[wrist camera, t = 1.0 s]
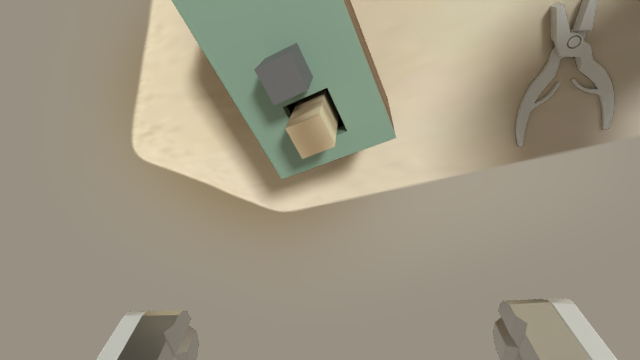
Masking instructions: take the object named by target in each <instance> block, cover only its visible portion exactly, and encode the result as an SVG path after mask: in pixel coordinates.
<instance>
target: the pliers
mask: <svg viewBox="0 0 640 360" xmlns="http://www.w3.org/2000/svg"><path fill="white" fill-rule="evenodd" d="M596 6H597V0H582V2H581V5H580V8H579V11H578V14H577V17H576V20H575V23H574V26H573V28H572V30H571V31H570V28H569V24H568V19H567V15H566V11H565V7H564V4H562V3H555V4H554V5H552V6H550V9H551V39H552V40H553V41H554V45H555V47H554V48H553V49H552V50H551V53H550V56H549V60H548V62H547V63H546V65H545V67H544V68H543V70H542V71H541V73H540V74H539V75H538V76H537V77H536V78H535V79H534V80H533V81H532V83H531V84H530V86H529V87H528V89H527V91H526V92H525V94H524V96H523V99H522V101H521V104H520V106H519V109H518V113H517V117H516V124H515V134H516V141H517V145H518V147H521V146H523V142H524V135H525V130H526V125H527V122H528V118H529V116H530V113H531V111H532V110H533V109H534V108H536V107H537V106H539V105H541V104H542V103H544V102H545V101H546V100H548V99H549V98H550V97H551V96H552V95H553V94H554V92H555V91H556V90H557V88H558V87H559V85H560V84H561V83H560V82H557V83H556V84H555V85H554V87H553V88H552V89H551V91H550V92H549V93H548V94H547V95H546V96H544V97H543V98H542V99H540V100H538V101H536V99H537V98H538V96H539V95H540V93H541V92H542V91H543V90H544V88H545V87H546V86H547V85H548V84H549V83H550V82H551V80H552V79H553V78H554V77H555V75H556V72H557V69H558V67H559V64H560V61H561V59H562V58H564V57H576V58H575V61H576V65H577V69H578V70H579V71H580V72H581V73H583V74H584V75H585V76H587V77H588V78H589V79H590V80H591V81H592V82H593V83H594V85H595V87H596V88H585V87H582V86H581V85H580V84H578V82H577V81H576V80H575V79H574V78H572V79H570V80H571V81H572V82H573V84H574V85H575V86H576V87H578V88H579V89H580V90H582V91H585V92H587V93H593V94H597V95H599V99H600V103H601V109H602V129H604V130H605V129H609V126H610V124H611V121H612V117H613V113H614V105H615V96H614V90H613V86H612V82H611V80H610V77H609V75H608V73H607V72H606V71H605V69H604V68H603V67H602V66H601V65H599V64H598V63H597V62H595V61H594V60H593V55H592V49H591V45H590V44H588V43H586V42H584V40H585V37H586V34H587V32H588V31H590V30H593V24H594V18H595V12H596ZM535 101H536V102H535Z"/></svg>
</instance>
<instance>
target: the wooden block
mask: <svg viewBox="0 0 640 360" xmlns="http://www.w3.org/2000/svg"><path fill="white" fill-rule="evenodd" d="M338 117H339V112H338V110H337V108H336V106H335V104H334V101H333V99H332V97H331V95H330V93H329V91H328V88H325V89H323V90H321V91H318V92H316V93H314V94H312V95H309V96H307V97H305V98H302V99H300V100H298V101H297V103H296V105H295V108H294V110H293V112H292V115H291V117H290V119H289V122H288V124H287V126H286V131H287V133H288V134H289V136H290V138H291V140H292V141H293V143H294V145H295V147H296V149H297V150H298V152H299V154H300V156H301V158H302V159H304V158H307V157H309V156H312V155H314V154H317V153H320V152H322V151H325V150H328V149H330V148H333V147H335V142H336V134H337V125H338Z"/></svg>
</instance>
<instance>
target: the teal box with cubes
mask: <svg viewBox="0 0 640 360" xmlns="http://www.w3.org/2000/svg"><path fill="white" fill-rule="evenodd" d="M172 2H173V3H174V5H175V7H176V8H177V10H178V12H179V13H180V15H181V16H182V18H183V20H184V21H185V23H186V25H187V26H188V28H189V29H190V31H191V33H192V34H193V36H194V38H195V39H196V41H197V42H198V44H199V46H200V47H201V49H202V51H203V52H204V54H205V55H206V57H207V59H208V60H209V62H210V64H211V65H212V67H213V69H214V70H215V72H216V73H217V75H218V77H219V78H220V80H221V82H222V83H223V85H224V86H225V88H226V90H227V91H228V93H229V95H230V96H231V98H232V99H233V101H234V103H235V104H236V106H237V108H238V109H239V111H240V112H241V114H242V116H243V117H244V119H245V121H246V122H247V124H248V125H249V127H250V129H251V130H252V132H253V134H254V135H255V137H256V138H257V140H258V142H259V143H260V145H261V147H262V148H263V150H264V151H265V153H266V155H267V156H268V158H269V160H270V161H271V163H272V165H273V166H274V168H275V169H276V171H277V173H278V174H279V176H280V178H281V179H284V178H287V177H290V176H292V175H295V174H298V173H301V172H303V171H306V170H309V169H312V168H314V167H317V166H320V165H323V164H325V163H328V162H331V161H334V160H336V159H339V158H342V157H344V156H347V155H350V154H353V153H355V152H358V151H361V150H364V149H366V148H369V147H372V146H375V145H377V144H380V143H383V142H386V141H388V140H391V139H394V138H396V136H395V132H394V129H393V126H392V124H391V121H390V119H389V116H388V114H387V111H386V108H385V106H384V103H383V101H382V98H381V95H380V93H379V90H378V88H377V85H376V83H375V80H374V77H373V75H372V72H371V70H370V67H369V65H368V62H367V59H366V57H365V54H364V52H363V49H362V46H361V44H360V41H359V39H358V36H357V34H356V31H355V28H354V26H353V23H352V21H351V18H350V15H349V13H348V10H347V8H346V5H345V3H344V0H172ZM325 88H328V91H329V93H330V95H331V97H332V99H333V101H334V104H335V106H336V108H337V110H338V112H339V114H340V116H341V119H342V121H343V123H344V126H341V127H339V128H337V134H336V142H335V147H333V148H330V149H328V150H325V151H322V152H320V153H317V154H314V155H312V156H309V157H307V158H304V159H302V158H301V156H300V154H299V152H298V150H297V149H296V147H295V145H294V143H293V141H292V140H291V138H290V136H289V134H288V133H287V131H286V126H287V124H288V122H289V119H290V117H291V113H290V111H289V109H288V107H287V105H289V104H291V103H293V102H296V101H298V100H300V99H302V98H305V97H307V96H309V95H312V94H314V93H316V92H318V91H321V90H323V89H325Z"/></svg>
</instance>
